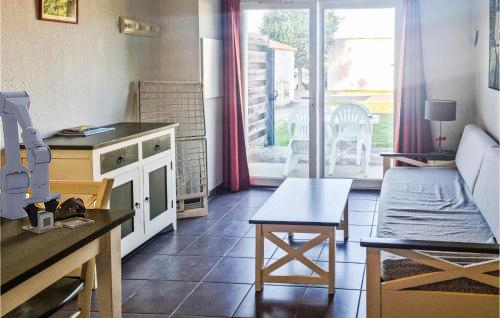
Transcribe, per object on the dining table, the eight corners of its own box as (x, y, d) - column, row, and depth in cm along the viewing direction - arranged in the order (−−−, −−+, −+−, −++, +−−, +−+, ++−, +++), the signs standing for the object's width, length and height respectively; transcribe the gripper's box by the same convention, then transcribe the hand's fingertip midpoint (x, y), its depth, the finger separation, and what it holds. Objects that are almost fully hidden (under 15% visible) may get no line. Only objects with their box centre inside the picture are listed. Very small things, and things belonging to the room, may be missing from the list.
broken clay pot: (86, 222, 215) (73, 203, 212) (63, 233, 217) (50, 214, 214) (95, 206, 226) (83, 187, 223) (74, 216, 228) (61, 198, 225)
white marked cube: (31, 228, 204) (30, 213, 203) (43, 225, 208) (43, 210, 207) (40, 231, 201) (40, 215, 200) (53, 227, 205) (53, 212, 204)
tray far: (55, 225, 210) (55, 222, 209) (76, 219, 217) (76, 216, 217) (73, 229, 204) (72, 226, 204) (94, 223, 212) (94, 220, 212)
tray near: (21, 229, 204) (21, 226, 204) (45, 223, 211) (44, 221, 211) (39, 234, 199) (39, 231, 198) (62, 228, 206) (62, 225, 206)
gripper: (28, 188, 194) (30, 231, 196) (66, 181, 206) (68, 221, 208) (14, 186, 198) (17, 227, 200) (52, 179, 210) (54, 218, 212)
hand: (42, 224), depth 205 cm, fingers open, 5 cm apart
